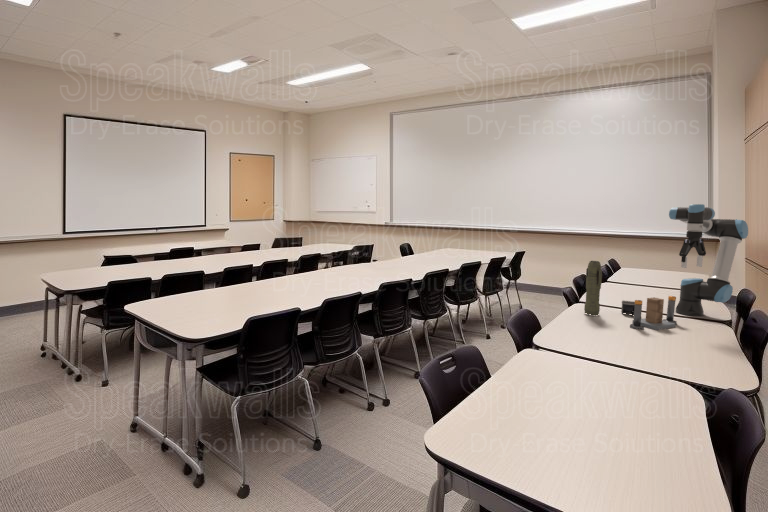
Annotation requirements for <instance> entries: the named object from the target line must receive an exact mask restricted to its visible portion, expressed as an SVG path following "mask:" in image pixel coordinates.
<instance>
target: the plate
mask: <svg viewBox="0 0 768 512" xmlns="http://www.w3.org/2000/svg"><path fill="white" fill-rule="evenodd" d="M633 323H634V319H632V324H633ZM641 325H642V326H644V328H646V329H647V328H648V329H651V330H655V331H656V330H657V331H658V330H664V329H665V328H666V329H670V327H672V328H675V327H676V324H675V323H671V322H667V321H663V319H662V323H656V324H654V323H651V322H647V321H646V317H645V318H641Z"/></svg>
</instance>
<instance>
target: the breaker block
mask: <svg viewBox="0 0 768 512" xmlns="http://www.w3.org/2000/svg"><path fill="white" fill-rule="evenodd" d="M664 303H665V300H664V298H659V297H647V298H646V307H645V318H646V321H647V322H651V323H654V324H656V323H662V320H663V319H664V318H663V317H664V305H665V304H664Z"/></svg>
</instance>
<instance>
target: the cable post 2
mask: <svg viewBox="0 0 768 512" xmlns="http://www.w3.org/2000/svg"><path fill="white" fill-rule="evenodd" d="M676 301H677V297H676V296H673V295H668V298H667V309H666V318H665V319H664V318H662V320H663V321H667V322H671V323H675V325H677V320H674V317H675V311H676Z"/></svg>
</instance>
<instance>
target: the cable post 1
mask: <svg viewBox="0 0 768 512" xmlns="http://www.w3.org/2000/svg"><path fill="white" fill-rule="evenodd" d="M634 302H635V308H634V316H633V320H634V323H633V322H632V323H631V324H629V328H631V329H633V330H644V328H645V327H644V326H642V325H641V319H642V310H643V308H642V307H643V300H639V299H635V300H634Z"/></svg>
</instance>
